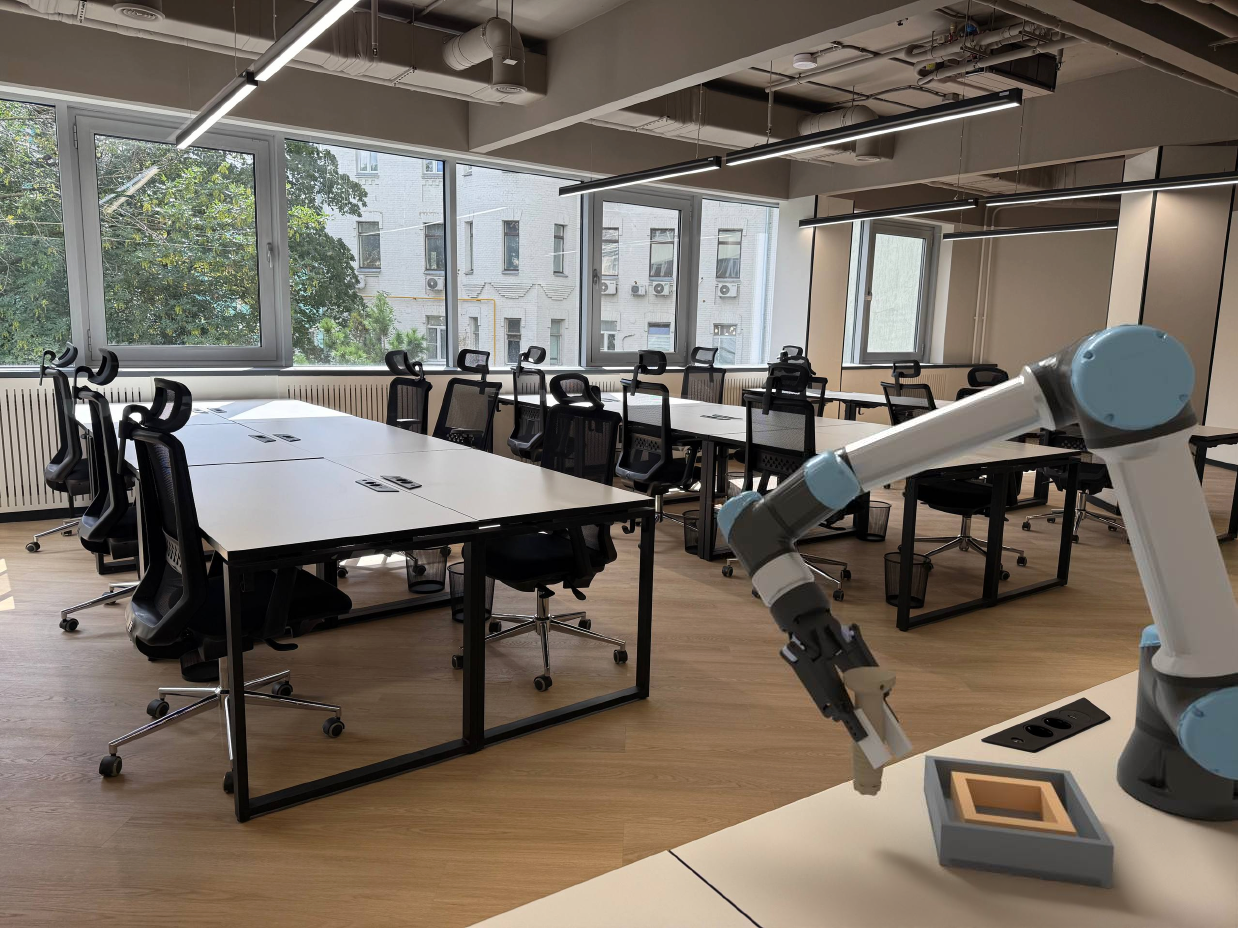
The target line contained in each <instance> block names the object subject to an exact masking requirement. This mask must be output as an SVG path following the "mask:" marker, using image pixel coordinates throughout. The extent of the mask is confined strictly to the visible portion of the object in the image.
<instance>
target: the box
mask: <svg viewBox="0 0 1238 928" xmlns="http://www.w3.org/2000/svg"><path fill="white" fill-rule="evenodd" d="M923 774H924V775H923V777H924V778H923V792H924V797H925V802H926V807H927V811H928V812H927V813H928V817H929V821H930V826H931V831H932V836H933V840H934V845H935V849H936V853H937V854H936V855H937V859H938V864H939V866H947V867H953V868H954V867H955V868H959V869H960V868H963V869H969V870H976V871H983V872H990V873H998V874H1005V875H1010V876H1011V875H1013V876H1019V877H1027V878H1034V879H1042V880H1046V881H1047V880H1049V881H1054V882H1055V881H1056V882H1062V883H1069V884H1077V885H1085V886H1091V887H1097V888H1098V887H1099V888H1106V889H1111V888H1112V881H1113V879H1112V878H1113V864H1114V849H1115V846H1114V844H1113V842H1112V841H1111V839H1110V837H1109V835H1108V834H1107V832H1106V830H1105V828H1104V827H1103V825H1102V824H1101V821H1100V820H1099V818H1098V816H1097V815H1096V813H1095V811H1094V810H1093V808H1092V806H1091V804H1090V803H1089V801H1088V799H1087V797H1086V795H1085V794H1084V792H1083V791H1082V789H1081V787H1080V786H1079V784H1078V782H1077V781H1076V778H1075V777H1074V775H1073V773H1072V772H1071V770H1066V769H1059V768H1048V767H1039V766H1037V767H1036V766H1031V765H1020V764H1012V763H1011V764H1010V763H1004V762H1003V763H1002V762H993V761H984V760H975V759H964V758H956V757H947V756H946V757H945V756H936V755H928V754H927V755H926V754H925V755H924V773H923Z"/></svg>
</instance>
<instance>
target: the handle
mask: <svg viewBox="0 0 1238 928" xmlns="http://www.w3.org/2000/svg"><path fill="white" fill-rule="evenodd" d="M896 677H897V674H896V673H895V672H893V671H892V670H889V669H887V668H884V667H880V666H879V667H860V668H854V669H850V670H848V671H846V672H844V673H842V681H843V684H844V686H845V688H846V689H849V690H850V691H852V692H854V693H853V695H854V703H853V705H854V710H853V711H854V712H855V711H856V710H857V709H860V708H861V709H862V710H863V712H864V714H865V715H866V717H867V718H868V720H869V722H870V723H871V725H872V726H873V728H874V730H875V731H876V733H877V734H878V736H879V738H880V739H881V741H882V743H883V744H884V746H885V740H884V724H883V694H884V693H885V692H887V691H888V690H890V689H891V688H892V689H893V688H894V687H895V686H896V681H897V678H896ZM850 745H851V747H850V748H851V750H850V756H851V757H850V759H851V771H852V776H853V778H854V779H853V780H852V785H853V789H854V790H855V791H856V792H858V793H859V794H860V795H862V796H865V795H867V796H872V797H873V796H877V795H878V793H879V792H880V791H881V788H882V783H883V782H882V778H883V774H884V767H885V766H884V765H885V763H884V764H883V765H881V766H880V767H878V768H876V769H874V768H873V766H872V764H871V763H870V761H869V760H868V758H867V756H866V755H865V753H864V751H863V750H862V748H861V746H860V745H859V743H858V742H857V743H856V742H855V741H854V740H853V738H852V737H851V744H850ZM885 747H886V746H885Z"/></svg>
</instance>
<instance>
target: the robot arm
mask: <svg viewBox="0 0 1238 928" xmlns="http://www.w3.org/2000/svg"><path fill="white" fill-rule="evenodd" d="M1195 374H1196V373H1195V368H1194V364H1193V360H1192V358H1191V356H1190V354H1189V353H1188V350H1187V349H1186V348H1185V347H1184V345H1183V344H1181V342H1179V340H1177V339H1176V338H1175V337H1173V336H1172V335H1170V334H1169V333H1167V332H1165V331H1162V330H1160V329H1158V328H1155V327H1152V326H1147V325H1142V324H1135V323H1134V324H1120V325H1117V326H1116V325H1115V326H1109V327H1107V328H1106V329H1100V330H1095V331H1093V332H1090V333H1087V334H1085V335H1083V336H1081V337H1080V338H1078V339H1075V340H1073V341H1072V342H1070V343H1069V344H1067V345H1066V346H1064V347H1062V348H1060V349H1058V350H1057V351H1055V352H1052V353H1051V354H1049V355H1047V356H1045V357H1043V358H1041V359H1038V360H1037V361H1034V362H1032V363H1030V364H1026V365H1025V366H1024V365H1023V367H1022V368H1021V371H1020V373H1019V375H1018V376H1017V377H1014V378H1011V379H1008V380H1006V381H1004V382H1001V383H998V384H997V385H994V386H991V387H989V388H986V389H984V390H981V391H979V392H976V393H974V394H972V395H968V396H967V397H963V398H961V399H958V400H956V401H954V402H952V403H949V404H946V405H944V406H941V407H939V408H936V409H934V410H931V411H928V412H925V413H924V414H921V415H919V416H917V417H914V418H912V419H908V420H906V421H903V422H902V423H899V424H895V425H893V426H891V427H889V428H887V429H884V430H881V431H879V432H877V433H874V434H872V435H869V436H866V437H864V438H861V439H859V440H856V441H854V442H851V443H849V444H846V445H845V446H842V447H840V448H836V449H834V450H825V451H824V450H823V451H821V453H819V454H817V455H815V456H812V457H810V458H809V459H807V460H806V461H805V462H804V463H803V464H802V465H801V467H799V469H797V470H796V471H795V472H793V473H792V474H791V475H790V476H788V477H787V478H786V479H784V481H782V482H781V483H780V484H779V485H777V486H776V487H775V488H773V490H771V491H770V492H768V493H766V494H765V495H761V494H760V493H759V492H758V491H756V490H755V491H754V490H748V491H747V490H745V491H744V492H740V493H739V494H738V495H737V496H734V497H731V498H730V499H728V500H727V501H726V502H725V503H724V504H723V505H722V506H721V507H720V508H719V510H718V512H717V516H716V521H717V525H718V527H719V528H720V530H721V533H722V535H723V537H724V538H725V541H726V543H727V545H728V547H729V548H730V549H731V550H732V552H733V554H734V555H735V557H736V559H737V560H738V562H739V563H740V565H741V566H742V568H743V570H744V572H745V573H746V575H747V576H748V578H749V580H750V581H751V584H753V586H754V588H755V590H756V592H757V593H758V594H759V596H760V598H761V600H762V601H763V604H764V605H765V606H766V607H769V613H770V615H771V617H772V619H773V621H774V622H775V623H776V625H777V627H778V629H779V630H780V632H782V633H783V634H786V635H787V638H788V640H789V641H788V643H787V644H785V646H784V647H783V648H782V649H781V650H779V652H778V653H779V656H780V657H781V658H782V659H783V660H784V661H785V662H786V663H787V664H788V665H789V666H790V667H791V668H792V670H793V671H794V673H795V675H796V676H797V677H798V679H799V680H800V682H801V683H802V685H803V686H804V689H805V690H806V691H807V692H808V694H809V696H810V697H811V699H812V700H813V702H814V704H815V705H816V706H817V708H818V710H819V711H820V713H821V715H823V717H824V718H825V719H830V718H831V719H832V720H833V722H835V723H839V722H842V724H843V725H844V726H845V728H846V730H847V731H848V733H849V735H850V737H851V739H852V738H853V740H854V741H855V742H856V743H857V742H858V743H859V745H860V746H861V748H862V750H863V751H864V753H865V755H866V756H867V758H868V760H869V761H870V763H871V764H872V766H873V768H874V769H876V768H878V767H880V766H881V765H883V764H884V765H885V763H888V761H890V760H891V759H893V757H892V756H891V753H892V755H893V756H894V758H895V759H896V760H899V759H901V757H902V758H903V756H905V755H906V754H908V753H909V752H911V751H912V750H914V749H915V748H914V746H913V744H912V743H911V741H910V739H909V738H908V736H907V735H906V734H905V732H904V730H903V729H902V727H901V726H900V722H899V718H898V717H897V715H896V714H895V713H894V710H893V709H892V708H891V706H890V705H889V703H888V701H887V698H888V697H890V692H891V691H892V689H893V687H892V688H891V689H890V690H888V691H887V692H885V693H884V694H883V724H884V744H883V743H882V741H881V739H880V738H879V736H878V734H877V733H876V731H875V730H874V728H873V726H872V725H871V723H870V722H869V720H868V718H867V717H866V715H865V714H864V712H863V710H862V709H861V708H860V709H857V710H856V711H855V712H854V703H853V701H852V699H851V696H850V695H849V692H848V690H847V687H846V686H845V685H844V684H843V678H842V677H841V675H840V674H839V671H838V669H839V670H840V672H841V673H842V674H843V673H844V672H846V671H848V670H850V669H854V668H860V667H880V665H879V663H878V662H877V660H876V658H875V657H874V655H873V654H872V652H871V651H870V648H869V647H868V645H867V643H866V642H865V640H864V638H863V635H862V632H861V628H860V626H859V625H858V624H857V623H855V622H853V623H852V624H850V625H849V626H848V625H843V624H841V623H840V621H839V620H838V619H837V618H835V616H834V615H833V614H832V613H831V600H829V598H828V596H827V595H826V593H825V591H824V590H823V588H822V587H821V585H820V584H819V583H818V582H815V576H814V574H813V573H812V571H811V570H810V568H809V566H808V565H807V564H806V562H805V560H804V559H803V557H802V556H801V555H800V553H799V552H798V551H797V549H796V547H795V545H794V543H795V542H796V541H797V540H799V539H801V538H802V537H803V536H804V535H805V534H807V533H809V532H810V531H811V530H813V529H814V528H816V527H817V526H818V525H819V524H821V523H822V522H824V521H825V520H826V519H828V518H830V517H831V516H832V515H833V514H835V513H836V512H838V511H840V510H842V509H844V508H846V506H847V505H848V504H849V503H850V502H851V501H853V499H854V498H856V497H858V496H860V495H863V494H865V493H867V492H870V491H873V490H876V489H878V488H881V487H883V486H886V485H888V484H891V483H894V482H897V481H899V480H900V481H901V480H902V479H905V478H908V477H911V476H913V475H915V474H919V473H921V472H924V471H926V470H929V469H932V468H934V467H937V466H940V465H942V464H946V463H948V462H951V461H953V460H956V459H959V458H963V457H964V456H967V455H969V454H972V453H975V452H978V451H980V450H983V449H986V448H988V447H992V446H994V445H997V444H999V443H1003V442H1004V441H1007V440H1010V439H1013V438H1015V437H1016V438H1017V437H1019V436H1020V435H1021V436H1022V435H1023V434H1026V433H1029V432H1031V431H1035V430H1037V429H1040V428H1044V429H1046V430H1049V431H1052V432H1054V431H1055V430H1058V429H1061V428H1063V427H1066V426H1069V425H1073V424H1079V428H1080V430H1081V434H1082V438H1083V441H1084V443H1085V447H1086V449H1087V452H1090V453H1092V454H1093V455H1095V456H1097V457H1099V458H1101V459H1103V460H1104V461H1105V463H1106V464H1105V465H1106V468H1107V470H1108V471H1107V472H1108V475H1109V478H1110V480H1111V484H1112V488H1113V492H1114V494H1115V498H1116V501H1117V504H1118V507H1119V511H1120V513H1121V517H1122V520H1123V524H1124V526H1125V530H1126V533H1127V536H1128V540H1129V543H1130V548H1131V550H1132V554H1133V557H1134V560H1135V563H1136V567H1137V570H1138V574H1139V577H1140V579H1141V583H1142V586H1143V590H1144V592H1145V596H1146V600H1147V603H1148V606H1149V609H1150V613H1151V617H1152V619H1153V623H1154V624H1151V625H1148V626H1146V627H1145V628H1144V629H1143V631H1142V633H1141V634H1142V635H1141V640H1140V643H1139V645H1138V648H1139V650H1140V651H1139V661H1138V662H1139V663H1138V664H1139V665H1138V675H1137V676H1138V677H1137V680H1138V682H1137V690H1136V705H1135V707H1136V708H1135V723H1134V728H1133V730H1132V733H1131V734H1130V736H1129V739H1128V740H1127V743H1126V744H1125V746H1124V748H1123V750H1122V753H1121V754H1120V756H1119V758H1118V760H1117V764H1116V765H1117V766H1116V767H1117V768H1116V781H1117V783H1118V785H1119V786H1120V787H1121V788H1122V789H1123V790H1124V791H1125V792H1127V793H1128V794H1129V795H1131V796H1132V797H1134V798H1135V799H1138V800H1139V801H1141V802H1143V803H1145V804H1146V805H1150V806H1152V807H1154V808H1157V809H1159V810H1161V811H1162V810H1163V811H1165V812H1168V813H1171V814H1174V815H1178V816H1182V817H1186V818H1192V819H1198V820H1204V821H1205V820H1206V821H1232V820H1238V604H1237V601H1236V597H1235V595H1234V590H1233V588H1232V583H1231V581H1230V578H1229V574H1228V572H1227V567H1226V564H1225V562H1224V557H1223V555H1222V552H1221V548H1220V545H1219V541H1218V539H1217V534H1216V531H1215V528H1214V525H1213V522H1212V519H1211V516H1210V511H1209V509H1208V505H1207V502H1206V498H1205V494H1204V492H1203V489H1202V486H1201V482H1200V479H1199V476H1198V472H1197V469H1196V464H1195V462H1194V457H1193V455H1192V452H1191V450H1190V445H1189V441H1190V439H1191V437H1192V436H1193V434H1194V433H1195V431H1196V430H1197V428H1198V427H1199V420H1198V418H1197V414H1196V412H1195V411H1196V410H1195V407H1194V403H1193V400H1192V393H1193V390H1194V385H1195V378H1196V375H1195ZM837 668H838V669H837ZM885 744H886V745H887V747H888V748H889V749H890V751H891V753H890V752H889V750H888V749H887V747H886V746H884V745H885Z"/></svg>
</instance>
